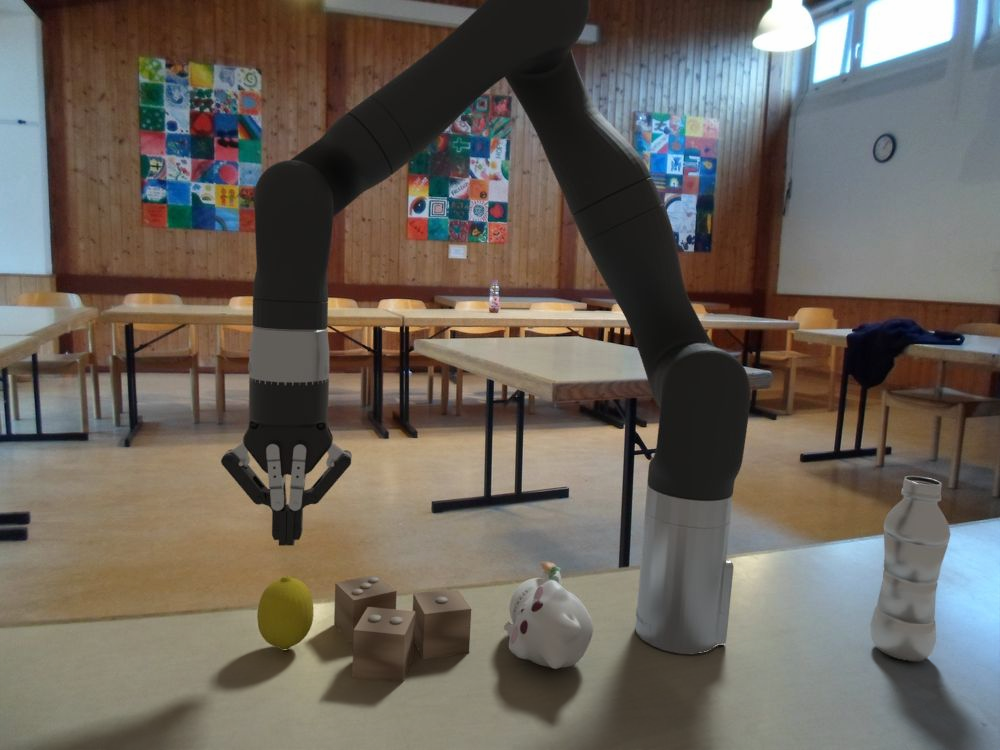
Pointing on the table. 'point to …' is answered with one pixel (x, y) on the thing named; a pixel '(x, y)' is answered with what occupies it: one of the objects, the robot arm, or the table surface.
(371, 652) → the block two dots
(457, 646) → the block one dot
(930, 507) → the plastic bottle
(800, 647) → the table surface
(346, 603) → the block three dots
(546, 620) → the cat figurine
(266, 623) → the lemon
